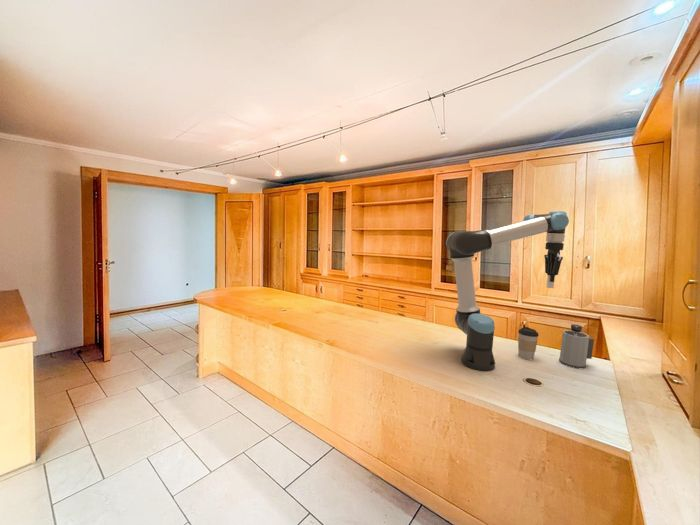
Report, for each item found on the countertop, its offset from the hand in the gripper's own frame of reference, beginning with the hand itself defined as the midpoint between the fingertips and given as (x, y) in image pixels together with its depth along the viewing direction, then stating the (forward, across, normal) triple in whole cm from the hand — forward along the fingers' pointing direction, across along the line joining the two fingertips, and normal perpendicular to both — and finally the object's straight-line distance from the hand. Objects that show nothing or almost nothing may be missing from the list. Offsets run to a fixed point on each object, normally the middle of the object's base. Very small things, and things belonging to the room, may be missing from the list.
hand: (549, 287), depth 153 cm
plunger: (+32, -8, -10) cm, 35 cm away
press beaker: (+36, -8, -11) cm, 39 cm away
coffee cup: (+37, -4, +10) cm, 38 cm away
